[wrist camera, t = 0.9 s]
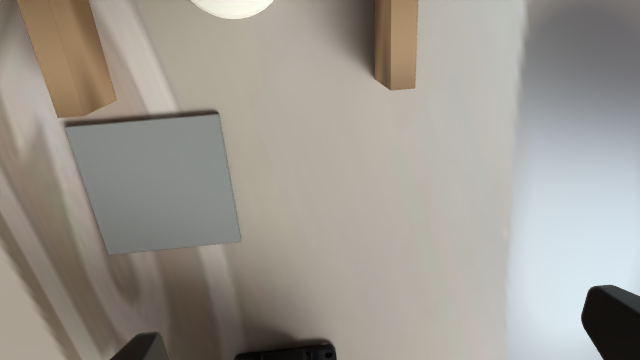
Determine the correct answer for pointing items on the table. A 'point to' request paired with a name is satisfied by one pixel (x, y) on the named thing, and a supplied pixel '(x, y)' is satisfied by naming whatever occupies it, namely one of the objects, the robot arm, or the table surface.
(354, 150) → the table surface
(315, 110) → the table surface
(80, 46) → the wooden frame
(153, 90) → the table surface
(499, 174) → the table surface
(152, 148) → the pad
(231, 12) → the chess piece
